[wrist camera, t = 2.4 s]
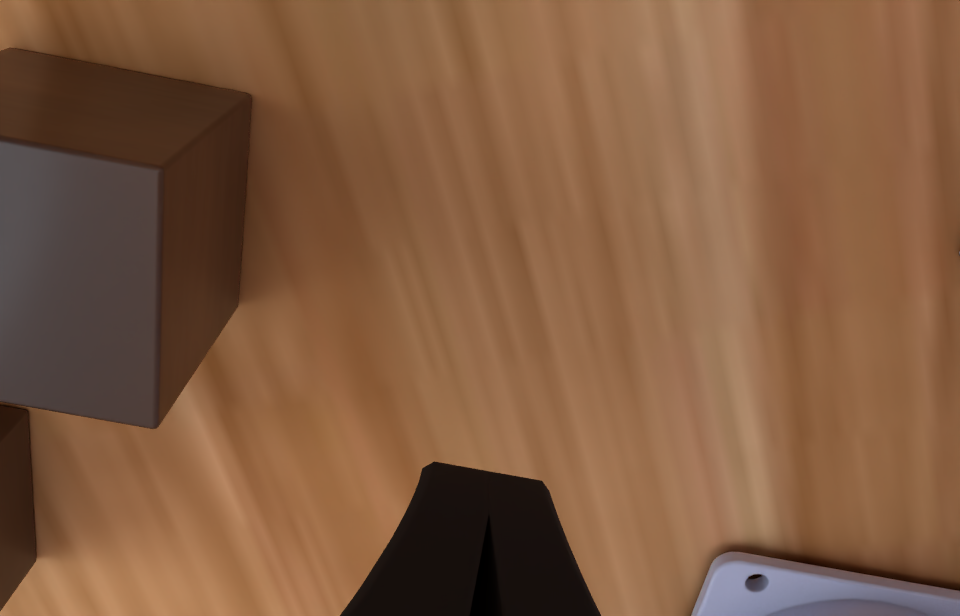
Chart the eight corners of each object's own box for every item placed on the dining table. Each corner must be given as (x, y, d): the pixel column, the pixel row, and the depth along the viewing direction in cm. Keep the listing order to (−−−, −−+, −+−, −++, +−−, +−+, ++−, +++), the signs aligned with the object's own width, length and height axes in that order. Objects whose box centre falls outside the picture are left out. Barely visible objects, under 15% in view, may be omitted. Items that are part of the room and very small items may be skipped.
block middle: (253, 92, 16) (162, 167, 12) (239, 308, 18) (157, 432, 14) (8, 45, 16) (-166, 105, 12) (20, 267, 18) (-124, 382, 14)
